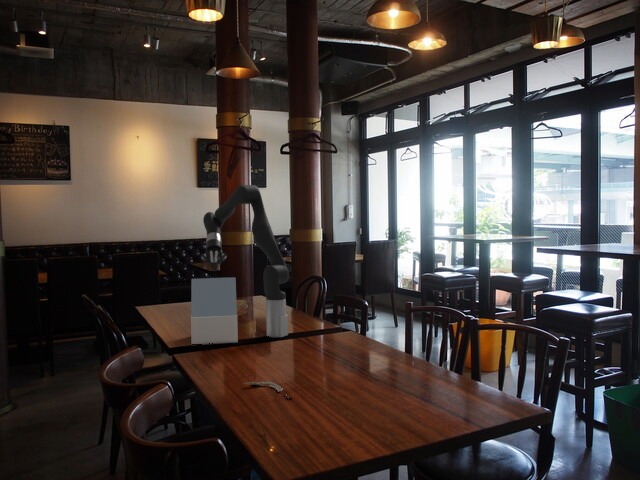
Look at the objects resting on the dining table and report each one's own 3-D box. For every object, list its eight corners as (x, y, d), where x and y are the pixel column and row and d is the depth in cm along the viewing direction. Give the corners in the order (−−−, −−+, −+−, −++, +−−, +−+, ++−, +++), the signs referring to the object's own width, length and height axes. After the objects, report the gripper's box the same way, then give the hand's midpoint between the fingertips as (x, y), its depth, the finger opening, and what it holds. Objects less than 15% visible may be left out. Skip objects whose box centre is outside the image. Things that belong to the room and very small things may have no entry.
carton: (193, 335, 237) (192, 310, 236) (236, 333, 241) (235, 308, 240) (191, 345, 219) (190, 317, 219) (237, 342, 223) (237, 315, 223)
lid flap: (191, 279, 227) (191, 278, 226) (235, 277, 231) (235, 277, 230) (191, 317, 219) (191, 316, 218) (236, 315, 223) (236, 314, 222)
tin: (230, 317, 279) (230, 302, 279) (226, 316, 281) (226, 302, 281) (249, 313, 291) (249, 298, 291) (245, 312, 293) (245, 298, 292)
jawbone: (261, 382, 172) (262, 376, 172) (308, 396, 160) (309, 389, 160) (242, 388, 165) (243, 381, 165) (290, 402, 152) (291, 395, 152)
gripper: (200, 238, 249) (199, 265, 238) (227, 238, 252) (228, 264, 241) (200, 248, 255) (200, 275, 243) (227, 248, 257) (228, 274, 246)
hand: (214, 270), depth 242 cm, fingers closed
